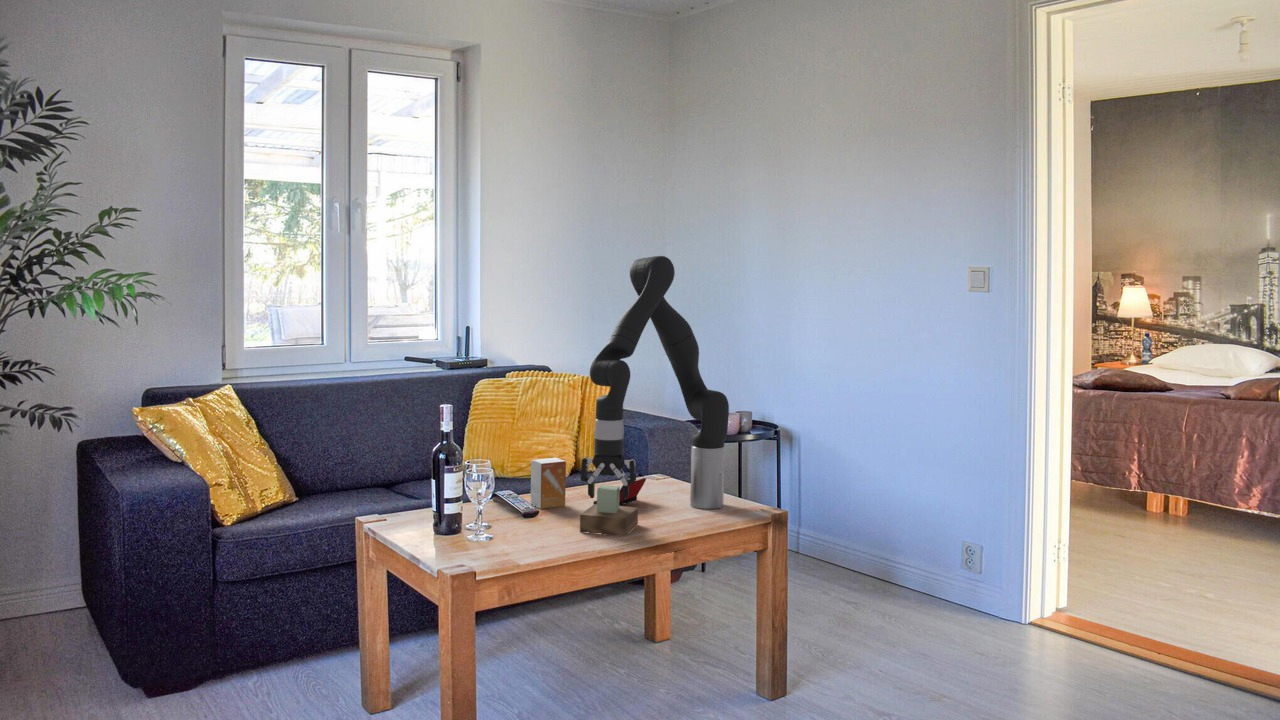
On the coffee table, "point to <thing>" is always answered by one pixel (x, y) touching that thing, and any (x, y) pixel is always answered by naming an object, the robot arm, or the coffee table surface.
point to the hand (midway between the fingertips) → (608, 498)
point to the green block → (608, 499)
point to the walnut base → (609, 521)
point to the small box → (548, 482)
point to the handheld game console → (631, 492)
